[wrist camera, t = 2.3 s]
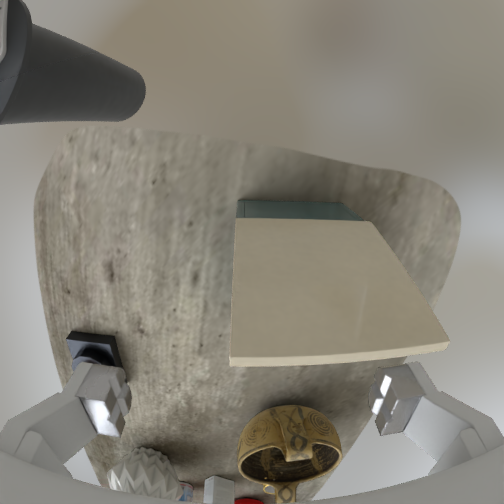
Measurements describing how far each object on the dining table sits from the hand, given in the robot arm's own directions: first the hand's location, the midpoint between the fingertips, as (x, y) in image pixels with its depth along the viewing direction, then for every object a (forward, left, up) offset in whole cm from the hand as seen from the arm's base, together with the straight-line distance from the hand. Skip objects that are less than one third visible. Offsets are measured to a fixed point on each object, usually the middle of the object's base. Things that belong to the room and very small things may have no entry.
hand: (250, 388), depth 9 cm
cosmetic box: (+66, -6, -29) cm, 72 cm away
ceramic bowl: (+39, +7, -29) cm, 49 cm away
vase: (+56, -21, -29) cm, 66 cm away
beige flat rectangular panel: (+2, +5, -12) cm, 14 cm away
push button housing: (+26, -24, -29) cm, 46 cm away
